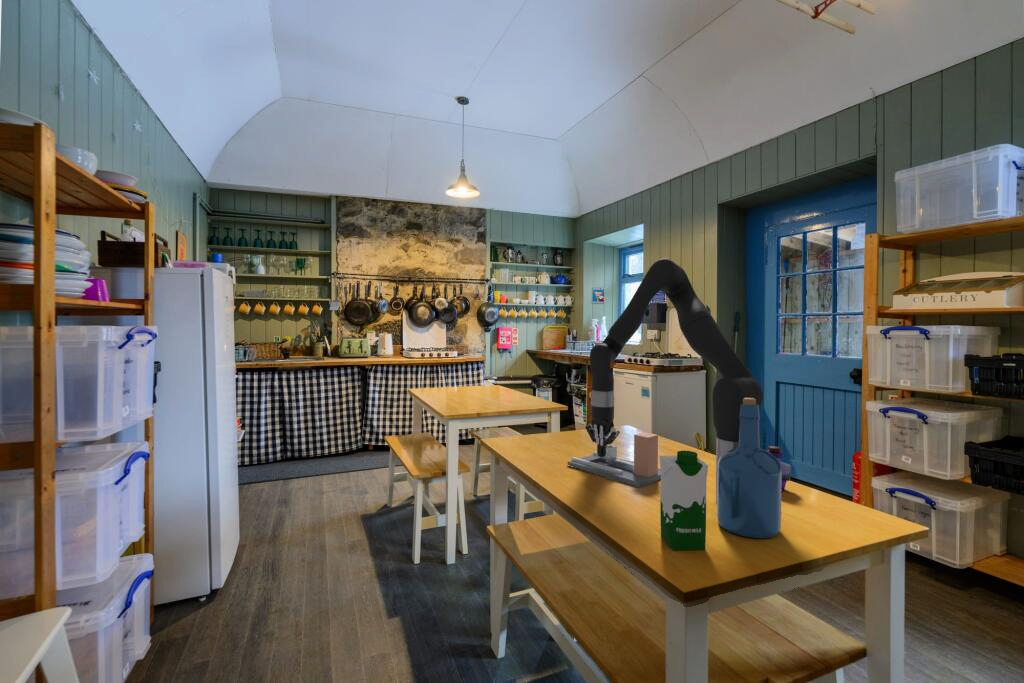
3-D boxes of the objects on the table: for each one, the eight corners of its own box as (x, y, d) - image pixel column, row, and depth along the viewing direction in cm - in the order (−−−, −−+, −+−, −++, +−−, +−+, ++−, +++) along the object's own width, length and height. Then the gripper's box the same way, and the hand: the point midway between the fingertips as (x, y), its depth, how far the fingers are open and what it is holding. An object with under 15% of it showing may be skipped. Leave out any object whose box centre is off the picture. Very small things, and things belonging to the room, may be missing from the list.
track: (598, 457, 170) (598, 450, 170) (669, 476, 148) (669, 468, 148) (567, 466, 159) (567, 458, 159) (639, 487, 138) (639, 478, 138)
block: (643, 470, 149) (643, 432, 149) (657, 474, 145) (657, 435, 145) (633, 473, 146) (634, 434, 145) (648, 477, 142) (648, 437, 142)
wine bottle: (704, 523, 113) (705, 396, 112) (741, 512, 119) (743, 392, 118) (756, 546, 101) (758, 405, 100) (795, 534, 107) (797, 400, 106)
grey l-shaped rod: (612, 462, 157) (612, 444, 157) (642, 469, 149) (642, 451, 149) (604, 464, 155) (604, 446, 155) (634, 472, 146) (635, 454, 146)
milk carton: (669, 552, 98) (670, 456, 98) (655, 533, 107) (655, 445, 107) (711, 551, 99) (712, 455, 98) (693, 532, 108) (694, 444, 107)
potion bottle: (798, 493, 133) (798, 450, 132) (766, 493, 133) (767, 450, 132) (781, 483, 141) (781, 443, 141) (751, 483, 141) (752, 443, 141)
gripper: (626, 405, 155) (625, 458, 156) (594, 400, 165) (593, 450, 166) (611, 408, 150) (610, 462, 151) (579, 402, 160) (578, 453, 161)
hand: (601, 456), depth 158 cm, fingers closed
